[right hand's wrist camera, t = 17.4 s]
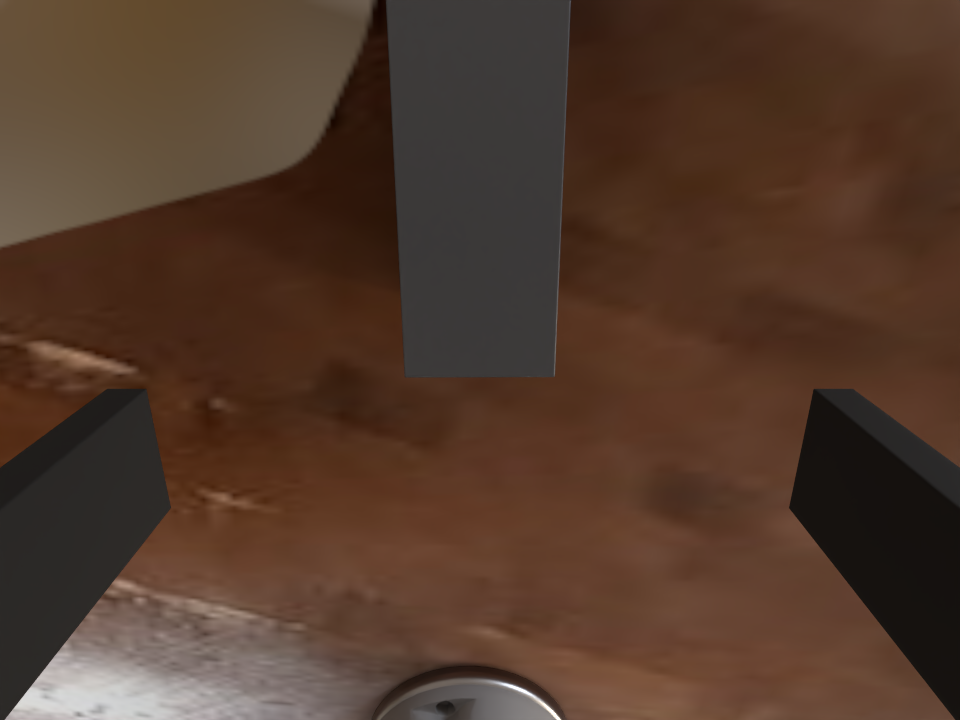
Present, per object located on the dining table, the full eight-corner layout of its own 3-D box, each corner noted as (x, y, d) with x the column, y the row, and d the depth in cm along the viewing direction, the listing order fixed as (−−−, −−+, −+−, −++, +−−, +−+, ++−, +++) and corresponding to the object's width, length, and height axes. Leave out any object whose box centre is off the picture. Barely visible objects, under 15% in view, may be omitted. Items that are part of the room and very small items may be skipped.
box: (532, 299, 36) (554, 377, 25) (426, 299, 36) (404, 377, 25) (545, -139, 28) (583, -289, 18) (411, -139, 28) (371, -287, 18)
